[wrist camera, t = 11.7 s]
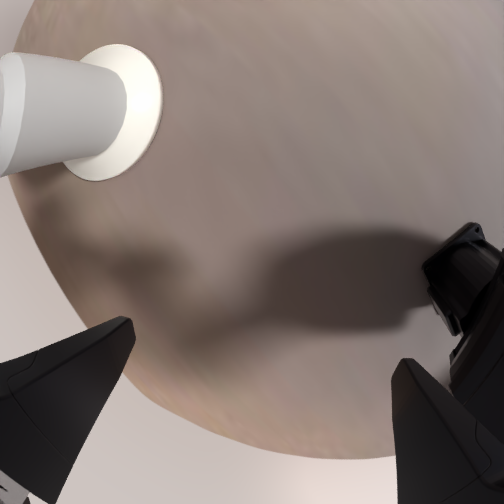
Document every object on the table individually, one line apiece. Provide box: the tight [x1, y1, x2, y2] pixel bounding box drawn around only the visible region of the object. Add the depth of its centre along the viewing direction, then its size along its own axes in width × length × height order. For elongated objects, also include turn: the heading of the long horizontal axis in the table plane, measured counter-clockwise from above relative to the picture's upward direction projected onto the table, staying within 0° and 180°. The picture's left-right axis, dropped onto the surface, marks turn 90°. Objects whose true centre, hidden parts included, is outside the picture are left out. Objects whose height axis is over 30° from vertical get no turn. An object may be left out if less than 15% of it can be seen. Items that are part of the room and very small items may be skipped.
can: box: [0, 52, 127, 177], centre depth 12 cm, size 8×8×12 cm
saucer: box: [63, 44, 164, 181], centre depth 18 cm, size 12×12×1 cm
